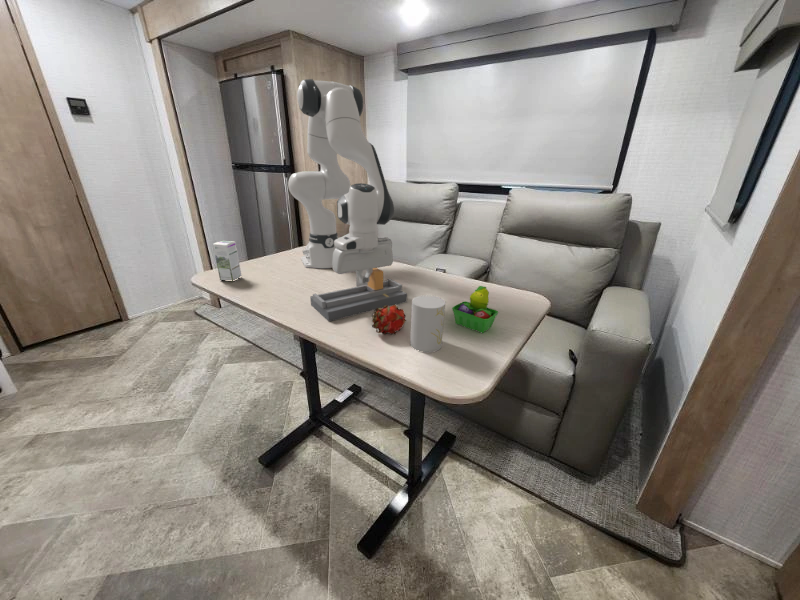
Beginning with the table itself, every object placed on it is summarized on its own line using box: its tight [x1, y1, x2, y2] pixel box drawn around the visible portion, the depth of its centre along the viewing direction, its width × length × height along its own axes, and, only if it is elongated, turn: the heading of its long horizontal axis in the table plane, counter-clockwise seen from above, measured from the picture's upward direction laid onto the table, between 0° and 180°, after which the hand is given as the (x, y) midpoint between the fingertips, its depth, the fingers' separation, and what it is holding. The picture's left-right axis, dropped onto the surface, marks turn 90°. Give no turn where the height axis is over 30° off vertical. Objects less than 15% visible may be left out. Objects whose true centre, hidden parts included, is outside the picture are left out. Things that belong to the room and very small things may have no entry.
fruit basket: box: [451, 285, 499, 334], centre depth 93 cm, size 11×9×11 cm
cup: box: [409, 294, 446, 353], centre depth 82 cm, size 8×8×12 cm
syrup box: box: [212, 240, 243, 281], centre depth 122 cm, size 6×6×14 cm
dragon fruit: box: [371, 304, 407, 336], centre depth 88 cm, size 8×8×12 cm
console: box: [310, 278, 408, 322], centre depth 106 cm, size 14×29×5 cm, turn 125°
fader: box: [366, 268, 384, 292], centre depth 107 cm, size 5×4×7 cm
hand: (364, 282), depth 105 cm, fingers closed
